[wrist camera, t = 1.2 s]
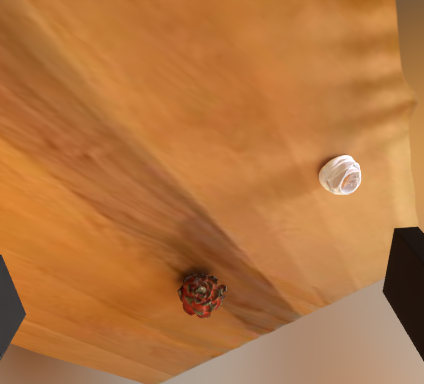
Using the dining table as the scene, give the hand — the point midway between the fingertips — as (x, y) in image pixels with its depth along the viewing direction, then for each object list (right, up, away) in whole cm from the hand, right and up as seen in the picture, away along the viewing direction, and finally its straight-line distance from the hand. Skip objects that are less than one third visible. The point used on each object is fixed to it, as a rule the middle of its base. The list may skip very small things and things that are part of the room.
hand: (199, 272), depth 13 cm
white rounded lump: (+21, +7, +50) cm, 55 cm away
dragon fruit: (-2, -15, +63) cm, 64 cm away
